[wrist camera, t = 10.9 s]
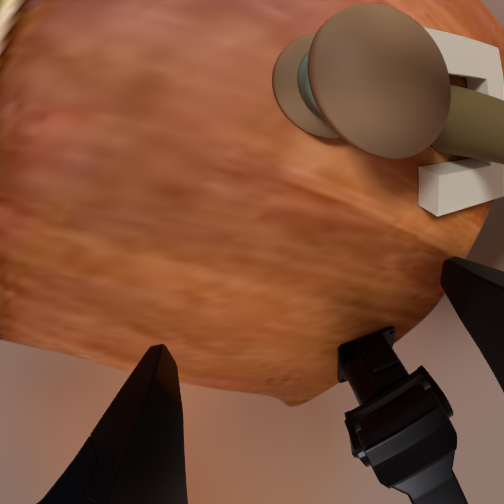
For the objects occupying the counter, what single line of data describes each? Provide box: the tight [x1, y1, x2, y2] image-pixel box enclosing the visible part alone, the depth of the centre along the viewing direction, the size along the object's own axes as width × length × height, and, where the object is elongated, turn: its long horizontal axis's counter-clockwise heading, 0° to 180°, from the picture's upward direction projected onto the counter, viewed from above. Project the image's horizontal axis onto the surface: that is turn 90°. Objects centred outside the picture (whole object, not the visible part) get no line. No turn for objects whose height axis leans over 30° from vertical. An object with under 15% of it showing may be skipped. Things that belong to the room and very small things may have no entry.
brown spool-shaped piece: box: [272, 3, 451, 159], centre depth 12 cm, size 7×7×8 cm
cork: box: [431, 84, 504, 164], centre depth 12 cm, size 6×6×11 cm
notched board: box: [418, 28, 504, 217], centre depth 16 cm, size 14×10×2 cm
